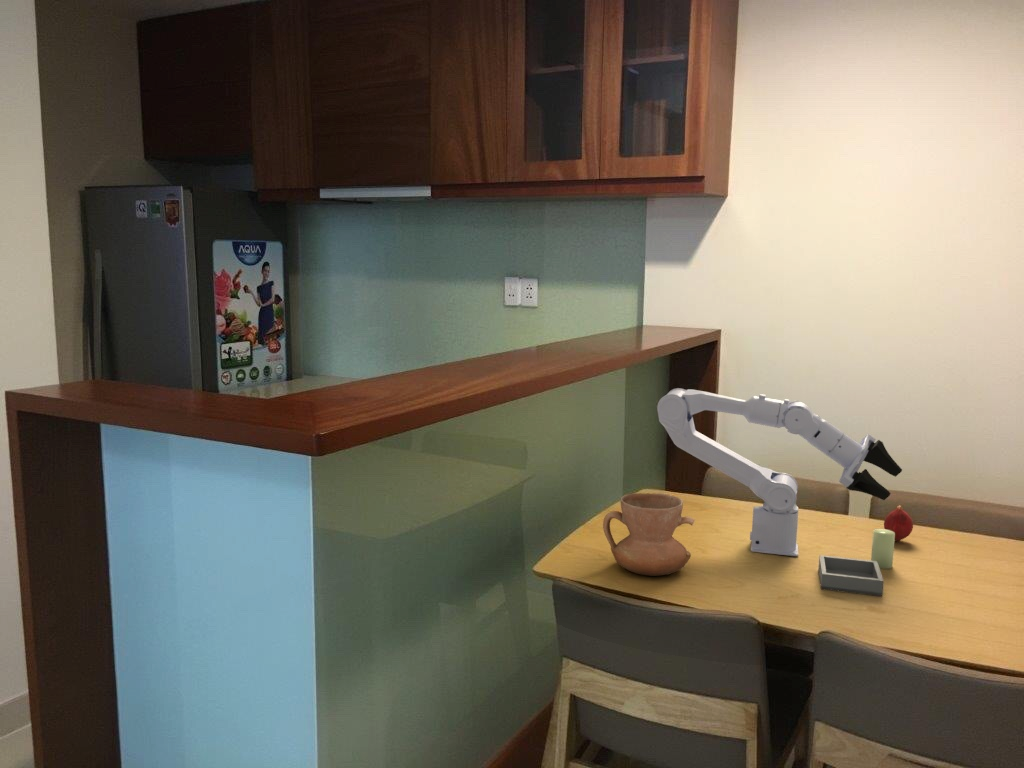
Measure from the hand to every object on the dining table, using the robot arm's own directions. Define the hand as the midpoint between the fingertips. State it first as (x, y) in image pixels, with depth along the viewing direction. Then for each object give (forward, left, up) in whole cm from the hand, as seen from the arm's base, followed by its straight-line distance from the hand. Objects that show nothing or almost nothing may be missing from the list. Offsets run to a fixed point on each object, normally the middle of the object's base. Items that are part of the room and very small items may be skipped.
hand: (893, 485), depth 169 cm
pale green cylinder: (-1, -2, -16) cm, 17 cm away
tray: (-8, -14, -16) cm, 23 cm away
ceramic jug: (-46, -19, -17) cm, 53 cm away
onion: (+4, +15, -17) cm, 23 cm away
